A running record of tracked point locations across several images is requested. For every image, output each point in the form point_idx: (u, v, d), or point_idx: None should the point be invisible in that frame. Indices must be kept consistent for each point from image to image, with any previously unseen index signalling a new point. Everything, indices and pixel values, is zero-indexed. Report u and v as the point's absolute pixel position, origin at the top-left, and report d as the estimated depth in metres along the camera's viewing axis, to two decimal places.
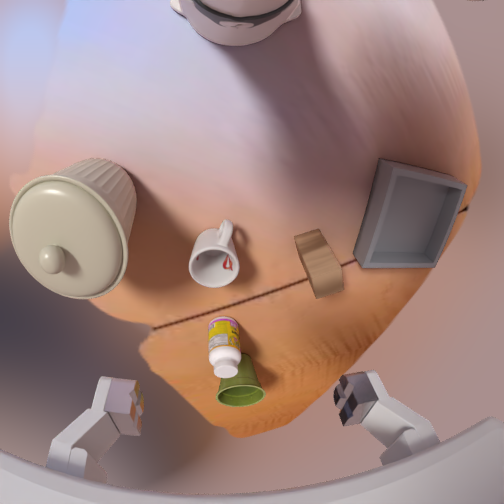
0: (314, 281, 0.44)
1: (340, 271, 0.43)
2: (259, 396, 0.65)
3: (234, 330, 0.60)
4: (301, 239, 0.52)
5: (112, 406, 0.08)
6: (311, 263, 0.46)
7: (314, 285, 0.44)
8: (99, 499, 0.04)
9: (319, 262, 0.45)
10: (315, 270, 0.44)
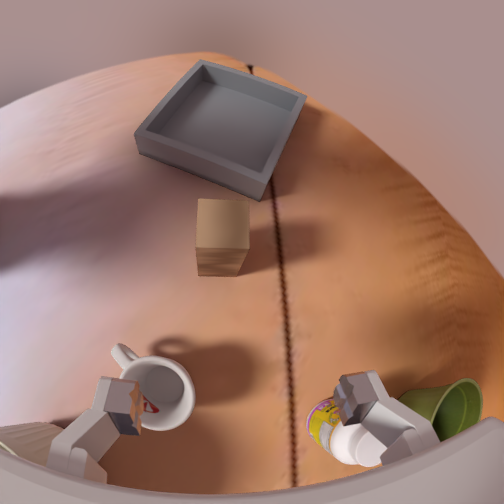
0: (204, 244, 0.26)
1: (204, 199, 0.27)
2: (471, 388, 0.27)
3: (328, 408, 0.30)
4: None
5: (112, 406, 0.08)
6: None
7: (214, 245, 0.26)
8: (99, 499, 0.04)
9: None
10: None
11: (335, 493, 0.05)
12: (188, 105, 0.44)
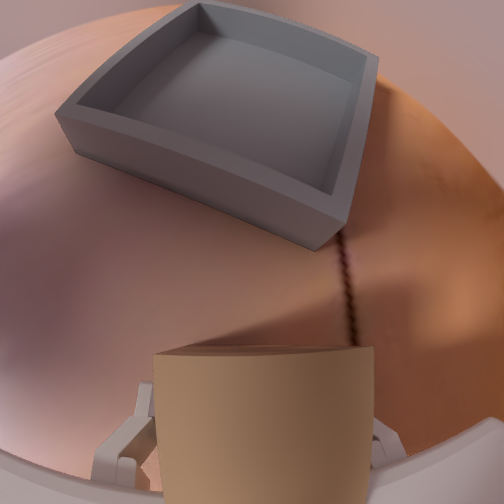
0: None
1: (182, 361, 0.05)
2: None
3: None
4: None
5: None
6: None
7: None
8: (99, 499, 0.04)
9: None
10: None
11: None
12: (171, 65, 0.22)
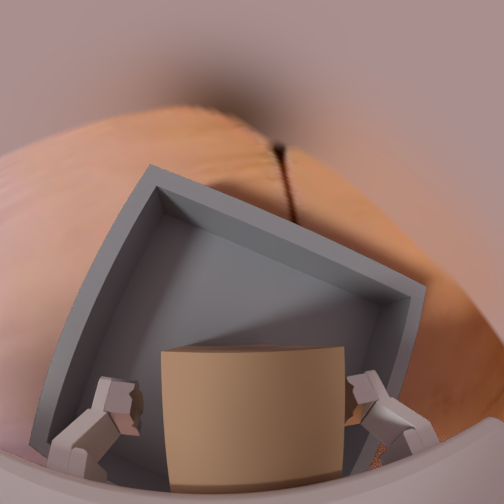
0: None
1: (185, 357, 0.07)
2: None
3: None
4: None
5: (112, 406, 0.08)
6: None
7: None
8: (99, 499, 0.04)
9: None
10: None
11: (335, 493, 0.05)
12: (134, 311, 0.18)
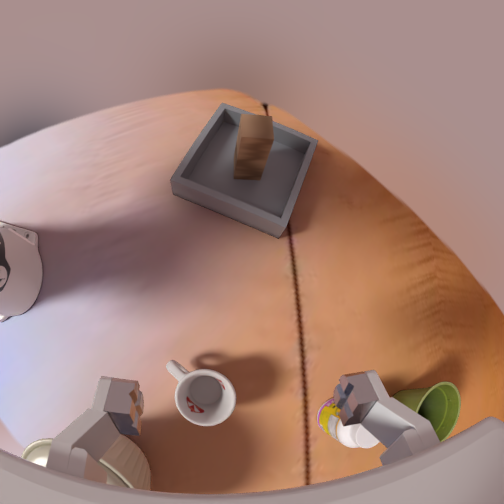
0: (246, 135, 0.40)
1: (245, 114, 0.41)
2: (450, 389, 0.36)
3: None
4: (234, 169, 0.50)
5: (112, 406, 0.08)
6: None
7: (252, 136, 0.40)
8: (99, 499, 0.04)
9: (239, 137, 0.43)
10: (240, 137, 0.41)
11: (335, 493, 0.05)
12: (213, 148, 0.52)
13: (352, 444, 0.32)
